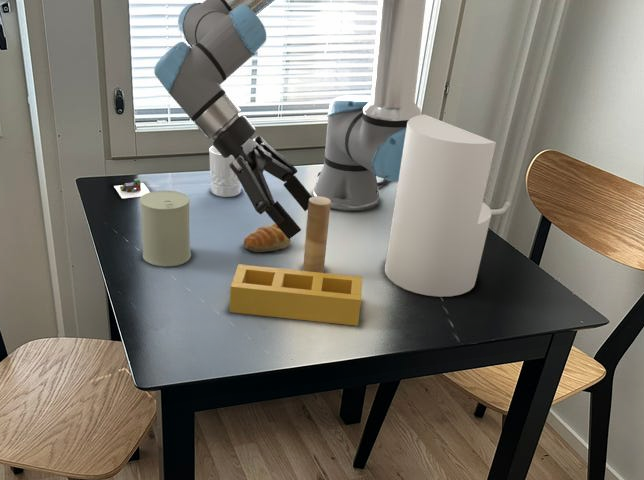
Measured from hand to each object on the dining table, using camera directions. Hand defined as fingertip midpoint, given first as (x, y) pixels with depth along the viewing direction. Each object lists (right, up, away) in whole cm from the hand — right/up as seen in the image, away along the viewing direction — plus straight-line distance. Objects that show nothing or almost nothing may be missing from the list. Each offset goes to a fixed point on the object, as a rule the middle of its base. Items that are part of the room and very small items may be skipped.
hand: (303, 220), depth 132 cm
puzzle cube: (-38, +13, +34) cm, 52 cm away
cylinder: (+25, -9, +6) cm, 27 cm away
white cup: (-17, +13, +36) cm, 42 cm away
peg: (+2, -9, +5) cm, 10 cm away
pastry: (-7, -3, +13) cm, 15 cm away
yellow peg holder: (-2, -16, -7) cm, 18 cm away
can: (-26, -6, +7) cm, 28 cm away
